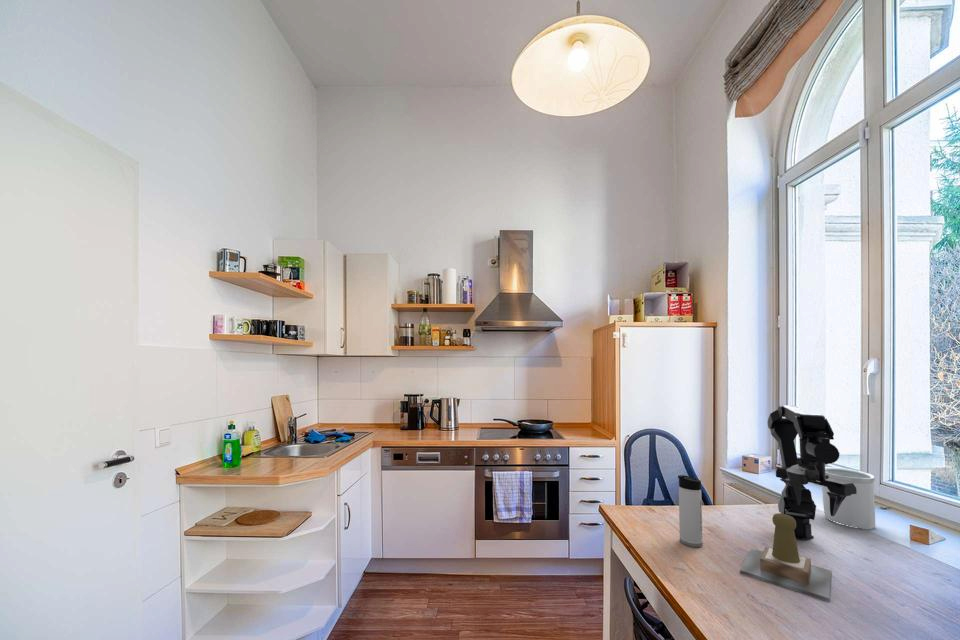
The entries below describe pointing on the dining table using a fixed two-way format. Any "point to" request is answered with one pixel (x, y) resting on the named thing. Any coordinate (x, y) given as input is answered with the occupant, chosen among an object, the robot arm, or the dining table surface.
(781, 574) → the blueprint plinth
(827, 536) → the dining table surface
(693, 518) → the travel mug
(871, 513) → the utensil holder
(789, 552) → the cork
